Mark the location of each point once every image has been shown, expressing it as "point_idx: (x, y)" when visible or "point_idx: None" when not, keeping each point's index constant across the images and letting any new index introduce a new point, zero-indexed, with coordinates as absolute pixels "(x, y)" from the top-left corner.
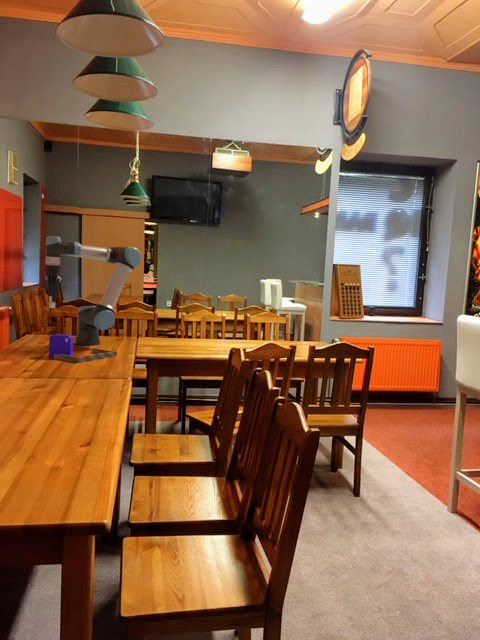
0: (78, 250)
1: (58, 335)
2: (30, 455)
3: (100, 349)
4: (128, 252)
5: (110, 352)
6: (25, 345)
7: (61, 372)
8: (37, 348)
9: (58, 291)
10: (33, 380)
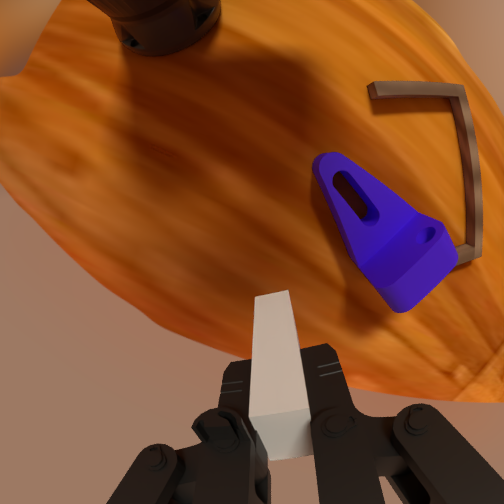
0: None
1: (429, 291)
2: None
3: (411, 88)
4: None
5: (467, 111)
6: (96, 236)
7: (494, 325)
8: (171, 228)
9: (468, 463)
10: (487, 373)
